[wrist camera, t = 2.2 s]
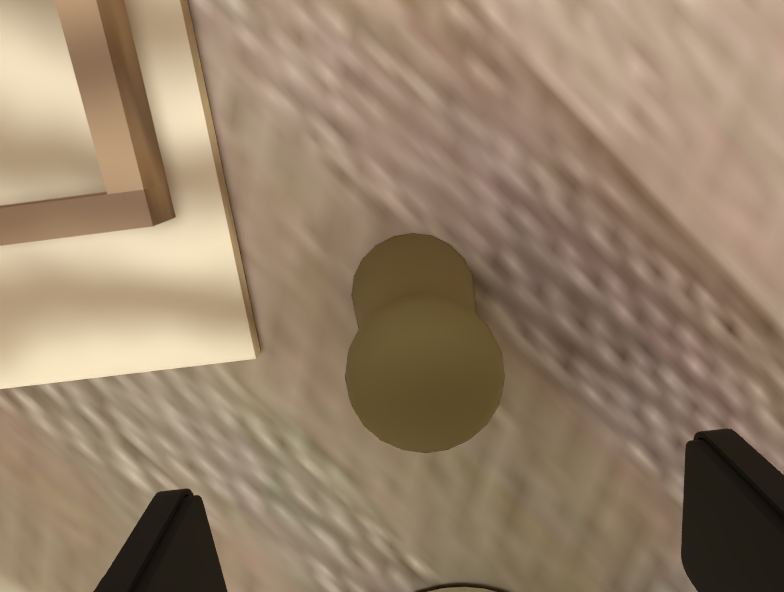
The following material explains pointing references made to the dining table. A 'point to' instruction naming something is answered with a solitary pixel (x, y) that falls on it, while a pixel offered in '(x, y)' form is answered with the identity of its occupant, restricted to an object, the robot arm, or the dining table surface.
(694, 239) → the dining table surface
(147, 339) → the socket stand
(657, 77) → the dining table surface
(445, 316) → the cork
